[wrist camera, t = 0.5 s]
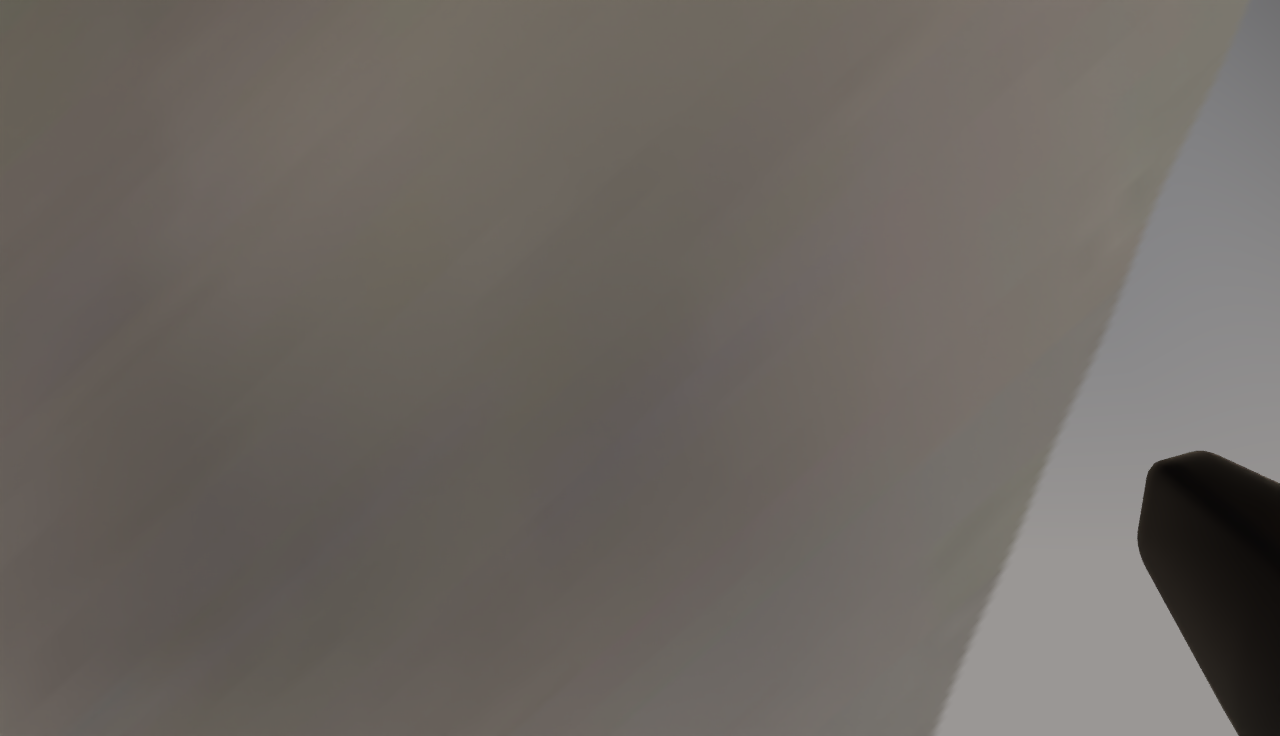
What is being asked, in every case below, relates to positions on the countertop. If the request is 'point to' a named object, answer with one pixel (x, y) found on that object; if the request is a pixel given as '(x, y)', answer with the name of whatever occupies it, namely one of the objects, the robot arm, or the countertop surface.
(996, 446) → the countertop surface
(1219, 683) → the robot arm
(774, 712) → the countertop surface
